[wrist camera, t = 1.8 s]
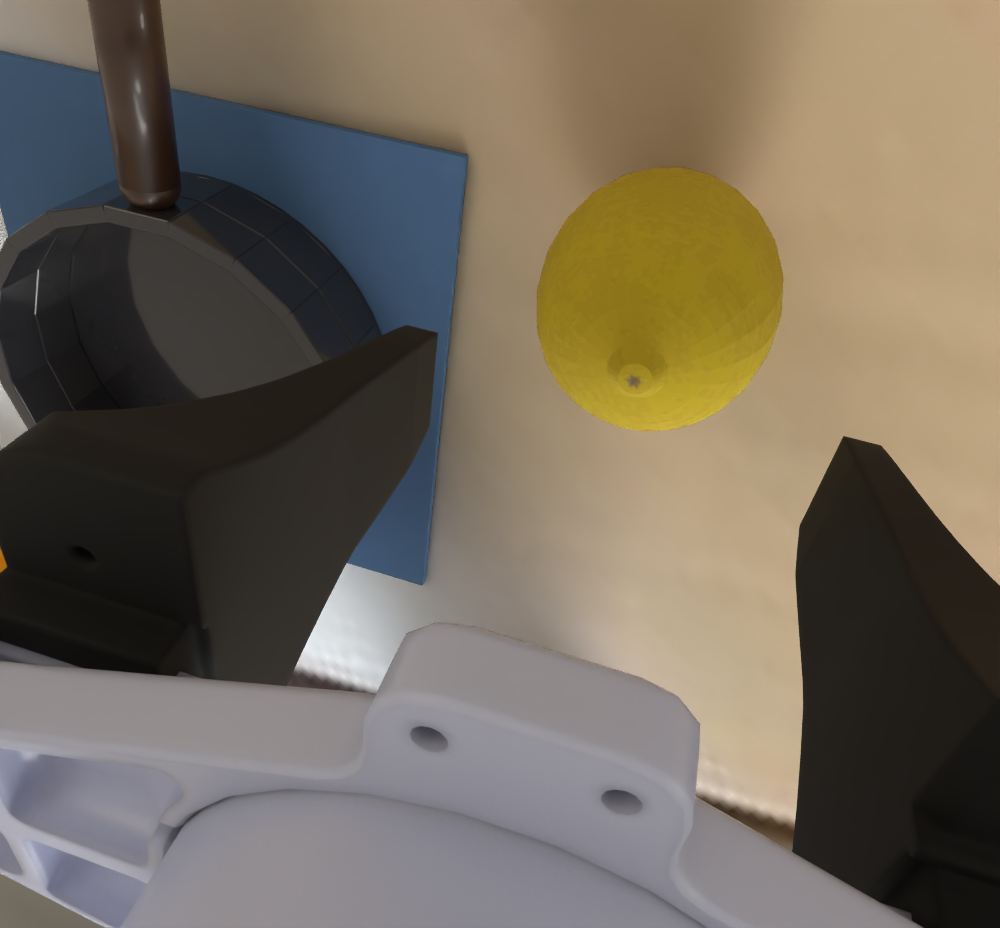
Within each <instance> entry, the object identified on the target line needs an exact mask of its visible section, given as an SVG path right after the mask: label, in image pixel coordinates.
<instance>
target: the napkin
mask: <svg viewBox="0 0 1000 928" xmlns="http://www.w3.org/2000/svg"><path fill="white" fill-rule="evenodd" d="M170 90H171V98H172V107H173V115H174V124H175V132H176V141H177V149H178V158H179V166H180V171H184V172H190V173H196V174H202V175H207V176H211V177H214V178H217V179H221V180H224V181H227V182H230V183H233V184H235V185H238V186H240V187H242V188H244V189H246V190H249V191H251V192H253V193H255V194H257V195H259V196H261V197H262V198H264V199H266V200H268V201H269V202H271V203H273V204H274V205H276V206H278V207H279V208H281V209H282V210H284V211H285V212H286V213H288V214H289V215H290V216H292V217H293V218H294V219H296V220H297V221H298V222H300V223H301V224H302V225H304V226H305V227H306V228H307V229H308V230H309V231H310V232H311V233H312V234H313V235H315V236H316V237H317V238H318V239H319V240H320V241H321V242H322V243H323V244H324V245H325V246H326V247H327V248H328V249H329V250H330V251H331V253H332V254H333V255H334V256H335V257H336V258H337V259H338V261H339V262H340V263H341V264H342V265H343V266H344V268H345V269H346V270H347V272H348V273H349V275H350V276H351V277H352V279H353V280H354V282H355V283H356V284H357V286H358V287H359V289H360V291H361V292H362V294H363V296H364V298H365V299H366V301H367V303H368V305H369V307H370V308H371V310H372V312H373V314H374V317H375V319H376V321H377V324H378V326H379V328H380V331H381V333H382V335H384V334H386V333H388V332H390V331H392V330H395V329H397V328H399V327H402V326H405V325H409V326H413V327H417V328H421V329H425V330H429V331H433V332H437V333H438V340H437V351H436V362H435V373H434V384H433V395H432V406H431V417H430V426H429V428H428V430H427V432H426V435H425V437H424V439H423V441H422V443H421V445H420V448H419V450H418V452H417V454H416V456H415V458H414V460H413V462H412V464H411V466H410V468H409V469H408V471H407V472H406V474H405V475H404V477H403V478H402V480H401V481H400V483H399V485H398V486H397V488H396V489H395V491H394V492H393V494H392V495H391V497H390V498H389V500H388V501H387V502H386V504H385V505H384V507H383V508H382V510H381V511H380V513H379V514H378V516H377V517H376V519H375V520H374V522H373V523H372V525H371V526H370V528H369V529H368V531H367V532H366V534H365V535H364V537H363V538H362V540H361V541H360V542H359V544H358V545H357V547H356V548H355V550H354V552H353V553H352V555H351V557H350V558H349V560H348V562H347V563H349V564H353V565H356V566H359V567H362V568H366V569H369V570H372V571H376V572H379V573H382V574H386V575H389V576H392V577H396V578H399V579H402V580H406V581H409V582H412V583H416V584H419V585H423V584H424V582H425V576H426V566H427V556H428V547H429V537H430V527H431V517H432V507H433V497H434V488H435V478H436V468H437V458H438V448H439V438H440V429H441V419H442V409H443V399H444V389H445V379H446V370H447V360H448V350H449V340H450V330H451V320H452V311H453V301H454V291H455V281H456V271H457V261H458V252H459V242H460V232H461V222H462V212H463V202H464V193H465V183H466V173H467V163H468V155H467V154H463V153H458V152H454V151H449V150H445V149H440V148H436V147H431V146H427V145H422V144H418V143H413V142H409V141H404V140H400V139H395V138H391V137H386V136H382V135H377V134H373V133H368V132H364V131H359V130H355V129H350V128H345V127H341V126H336V125H332V124H327V123H323V122H318V121H314V120H309V119H305V118H300V117H296V116H291V115H287V114H282V113H278V112H273V111H269V110H264V109H260V108H255V107H251V106H246V105H242V104H237V103H233V102H228V101H224V100H219V99H215V98H210V97H206V96H201V95H197V94H192V93H188V92H183V91H179V90H174V89H170ZM116 179H117V176H116V170H115V164H114V158H113V152H112V146H111V139H110V133H109V127H108V121H107V115H106V109H105V103H104V97H103V91H102V85H101V79H100V73H97V72H93V71H88V70H84V69H79V68H75V67H70V66H66V65H61V64H57V63H52V62H48V61H43V60H39V59H34V58H30V57H25V56H21V55H16V54H12V53H7V52H3V51H0V207H1V211H2V214H3V218H4V222H5V226H6V230H7V233H8V237H9V236H10V235H12V234H13V233H15V232H16V231H18V230H19V229H21V228H22V227H23V226H25V225H26V224H28V223H29V222H31V221H32V220H34V219H35V218H37V217H38V216H40V215H41V214H43V213H44V212H46V211H48V210H50V209H52V208H54V207H57V206H59V205H61V204H63V203H65V202H68V201H70V200H72V199H74V198H76V197H79V196H81V195H84V194H85V193H87V192H90V191H92V190H94V189H96V188H98V187H101V186H103V185H105V184H107V183H109V182H112V181H114V180H116Z"/></svg>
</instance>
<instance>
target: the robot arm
mask: <svg viewBox="0 0 1000 928" xmlns="http://www.w3.org/2000/svg"><path fill="white" fill-rule="evenodd" d="M437 340H438V333H437V332H433V331H429V330H425V329H421V328H417V327H413V326H409V325H405V326H402V327H399V328H397V329H395V330H392V331H390V332H388V333H386V334H384V335H381V336H379V337H377V338H375V339H373V340H371V341H369V342H367V343H365V344H362V345H360V346H358V347H356V348H354V349H352V350H349V351H347V352H345V353H343V354H341V355H338V356H336V357H334V358H332V359H329V360H327V361H324V362H322V363H319V364H317V365H314V366H312V367H309V368H307V369H304V370H302V371H299V372H297V373H294V374H292V375H289V376H286V377H283V378H280V379H277V380H274V381H271V382H268V383H265V384H261V385H258V386H254V387H251V388H247V389H244V390H240V391H236V392H232V393H227V394H222V395H217V396H212V397H207V398H202V399H197V400H192V401H187V402H181V403H174V404H166V405H159V406H150V407H140V408H130V409H117V410H91V411H53V412H52V413H50V414H49V415H48V416H46V417H45V418H44V419H42V420H41V421H40V422H38V423H37V424H36V425H34V426H33V427H31V428H30V429H29V430H27V431H26V432H25V433H23V434H22V435H21V436H19V437H18V438H17V439H15V440H14V441H13V442H11V443H10V444H9V445H7V446H6V447H4V448H3V449H2V450H0V548H1V551H2V553H3V556H4V559H5V562H6V565H7V567H6V568H5V569H4V570H3V571H2V572H1V573H0V873H1V874H3V875H5V876H7V877H9V878H10V879H12V880H14V881H16V882H18V883H20V884H22V885H24V886H26V887H28V888H30V889H32V890H34V891H35V892H37V893H39V894H41V895H43V896H45V897H47V898H49V899H51V900H53V901H55V902H57V903H59V904H60V905H63V906H65V907H66V908H68V909H70V910H72V911H74V912H76V913H78V914H80V915H82V916H84V917H86V918H87V919H89V920H91V921H93V922H95V923H97V924H99V925H101V926H103V927H105V928H1000V586H999V585H998V584H997V583H996V582H995V581H994V580H993V579H992V578H991V577H990V576H989V575H988V574H987V573H986V572H985V571H984V570H983V569H982V568H981V567H980V565H979V564H978V563H977V562H976V561H975V560H974V559H973V558H972V557H971V556H970V554H969V553H968V552H967V551H966V550H965V549H964V548H963V547H962V546H961V545H960V543H959V542H958V541H957V540H956V539H955V538H954V537H953V535H952V534H951V533H950V532H949V531H948V529H947V528H946V527H945V526H944V525H943V523H942V522H941V521H940V520H939V519H938V517H937V516H936V515H935V514H934V512H933V511H932V510H931V509H930V507H929V506H928V505H927V504H926V502H925V501H924V500H923V498H922V497H921V496H920V495H919V493H918V492H917V491H916V489H915V488H914V487H913V485H912V484H911V483H910V481H909V480H908V479H907V477H906V476H905V475H904V474H903V472H902V471H901V470H900V468H899V467H898V466H897V464H896V463H895V462H894V461H893V459H892V458H891V457H890V456H889V454H888V453H887V452H886V451H885V450H884V449H883V447H882V446H880V445H876V444H873V443H869V442H865V441H861V440H857V439H853V438H849V437H845V436H843V438H842V440H841V442H840V445H839V447H838V449H837V451H836V453H835V455H834V457H833V459H832V461H831V463H830V465H829V467H828V469H827V471H826V473H825V475H824V477H823V479H822V481H821V483H820V485H819V487H818V489H817V492H816V494H815V496H814V498H813V500H812V502H811V504H810V506H809V508H808V510H807V512H806V514H805V516H804V518H803V520H802V522H801V524H800V528H799V538H798V548H797V561H796V592H797V608H798V622H799V636H800V649H801V663H802V677H803V721H802V740H801V758H800V771H799V785H798V798H797V810H796V820H795V830H794V840H793V850H792V852H791V851H789V850H788V849H786V848H784V847H782V846H781V845H779V844H777V843H775V842H774V841H772V840H770V839H769V838H767V837H765V836H763V835H762V834H760V833H758V832H756V831H755V830H753V829H751V828H749V827H748V826H746V825H744V824H742V823H741V822H739V821H737V820H736V819H734V818H732V817H730V816H729V815H727V814H725V813H723V812H722V811H720V810H718V809H716V808H715V807H713V806H711V805H709V804H708V803H706V802H704V801H702V800H701V799H699V798H697V797H696V796H695V794H696V782H697V771H698V759H699V742H700V723H699V722H698V721H697V719H696V718H695V717H694V716H693V714H692V713H691V712H690V711H689V709H688V708H687V707H686V706H685V704H684V703H683V702H682V701H681V699H680V698H679V697H678V696H676V695H675V694H673V693H671V692H669V691H667V690H665V689H663V688H661V687H659V686H657V685H655V684H653V683H651V682H649V681H647V680H645V679H643V678H641V677H638V676H635V675H632V674H628V673H625V672H622V671H618V670H615V669H612V668H609V667H605V666H602V665H599V664H596V663H592V662H589V661H586V660H582V659H579V658H576V657H573V656H569V655H566V654H563V653H559V652H556V651H553V650H550V649H546V648H543V647H540V646H537V645H533V644H530V643H527V642H523V641H520V640H517V639H514V638H510V637H507V636H504V635H501V634H497V633H494V632H491V631H487V630H484V629H481V628H478V627H474V626H465V625H457V624H448V623H433V624H430V625H428V626H425V627H422V628H419V629H416V630H414V631H411V632H408V633H407V634H406V636H405V638H404V639H403V641H402V643H401V645H400V647H399V649H398V651H397V652H396V654H395V656H394V658H393V660H392V662H391V665H390V667H389V669H388V671H387V673H386V675H385V677H384V679H383V681H382V683H381V685H380V687H379V689H378V691H377V693H376V694H373V693H361V692H350V691H338V690H327V689H315V688H304V687H292V686H287V684H288V682H289V679H290V677H291V675H292V673H293V671H294V668H295V666H296V664H297V662H298V660H299V657H300V655H301V653H302V651H303V649H304V647H305V645H306V643H307V640H308V638H309V636H310V634H311V632H312V630H313V628H314V626H315V624H316V622H317V620H318V618H319V616H320V614H321V612H322V610H323V608H324V606H325V604H326V602H327V600H328V598H329V596H330V594H331V592H332V590H333V588H334V586H335V584H336V582H337V580H338V578H339V576H340V574H341V572H342V570H343V569H344V567H345V565H346V563H347V562H348V560H349V558H350V557H351V555H352V553H353V552H354V550H355V548H356V547H357V545H358V544H359V542H360V541H361V540H362V538H363V537H364V535H365V534H366V532H367V531H368V529H369V528H370V526H371V525H372V523H373V522H374V520H375V519H376V517H377V516H378V514H379V513H380V511H381V510H382V508H383V507H384V505H385V504H386V502H387V501H388V500H389V498H390V497H391V495H392V494H393V492H394V491H395V489H396V488H397V486H398V485H399V483H400V481H401V480H402V478H403V477H404V475H405V474H406V472H407V471H408V469H409V468H410V466H411V464H412V462H413V460H414V458H415V456H416V454H417V452H418V450H419V448H420V445H421V443H422V441H423V439H424V437H425V435H426V432H427V430H428V428H429V426H430V417H431V406H432V395H433V384H434V373H435V362H436V351H437Z"/></svg>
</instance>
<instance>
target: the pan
mask: <svg viewBox="0 0 1000 928" xmlns="http://www.w3.org/2000/svg"><path fill="white" fill-rule="evenodd" d="M180 175H181V192H180V196H179V198H178V200H177V201H176V203H175V204H174V205H173V206H172V207H170V208H168V209H165V210H159V211H147V210H141V209H138V208H136V207H134V206H132V205H131V204H130V203H129V202H128V201H127V200H126V199H125V197H124V196H123V195H122V193H121V191H120V189H119V185H118V182H117V179H116V180H114V181H112V182H109V183H107V184H105V185H103V186H101V187H98V188H96V189H94V190H92V191H90V192H87V193H85V194H84V195H81V196H79V197H76V198H74V199H72V200H70V201H68V202H65V203H63V204H61V205H59V206H57V207H54V208H52V209H50V210H48V211H46V212H44V213H43V214H41V215H40V216H38V217H37V218H35V219H34V220H32V221H31V222H29V223H28V224H26V225H25V226H23V227H22V228H21V229H19V230H18V231H16V232H15V233H13V234H12V235H10V236H9V237H8V238H7V239H6V240H5V242H4V244H3V246H2V249H1V251H0V382H1V383H2V386H3V387H4V389H5V391H6V393H7V394H8V396H9V398H10V399H11V401H12V403H13V405H14V406H15V408H16V410H17V411H18V413H19V415H20V417H21V418H22V420H23V422H24V423H25V425H26V427H27V429H28V430H29V429H30V428H31V427H33V426H34V425H36V424H37V423H38V422H40V421H41V420H42V419H44V418H45V417H46V416H48V415H49V414H50V413H52V412H53V411H91V410H117V409H130V408H140V407H150V406H159V405H166V404H174V403H181V402H187V401H192V400H197V399H202V398H207V397H212V396H217V395H222V394H227V393H232V392H236V391H240V390H244V389H247V388H251V387H254V386H258V385H261V384H265V383H268V382H271V381H274V380H277V379H280V378H283V377H286V376H289V375H292V374H294V373H297V372H299V371H302V370H304V369H307V368H309V367H312V366H314V365H317V364H319V363H322V362H324V361H327V360H329V359H332V358H334V357H336V356H338V355H341V354H343V353H345V352H347V351H349V350H352V349H354V348H356V347H358V346H360V345H362V344H365V343H367V342H369V341H371V340H373V339H375V338H377V337H379V336H381V335H382V333H381V331H380V328H379V326H378V324H377V321H376V319H375V317H374V314H373V312H372V310H371V308H370V307H369V305H368V303H367V301H366V299H365V298H364V296H363V294H362V292H361V291H360V289H359V287H358V286H357V284H356V283H355V282H354V280H353V279H352V277H351V276H350V275H349V273H348V272H347V270H346V269H345V268H344V266H343V265H342V264H341V263H340V262H339V261H338V259H337V258H336V257H335V256H334V255H333V254H332V253H331V251H330V250H329V249H328V248H327V247H326V246H325V245H324V244H323V243H322V242H321V241H320V240H319V239H318V238H317V237H316V236H315V235H313V234H312V233H311V232H310V231H309V230H308V229H307V228H306V227H305V226H304V225H302V224H301V223H300V222H298V221H297V220H296V219H294V218H293V217H292V216H290V215H289V214H288V213H286V212H285V211H284V210H282V209H281V208H279V207H278V206H276V205H274V204H273V203H271V202H269V201H268V200H266V199H264V198H262V197H261V196H259V195H257V194H255V193H253V192H251V191H249V190H246V189H244V188H242V187H240V186H238V185H235V184H233V183H230V182H227V181H224V180H221V179H217V178H214V177H211V176H207V175H202V174H196V173H190V172H184V171H180Z"/></svg>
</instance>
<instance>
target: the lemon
mask: <svg viewBox="0 0 1000 928" xmlns="http://www.w3.org/2000/svg"><path fill="white" fill-rule="evenodd" d="M782 293H783V273H782V268H781V264H780V259H779V255H778V251H777V246H776V243H775V240H774V238H773V236H772V234H771V232H770V231H769V229H768V227H767V225H766V223H765V222H764V220H763V218H762V216H761V215H760V213H759V211H758V210H757V209H756V208H755V207H754V206H753V205H752V204H751V203H750V202H749V201H748V200H747V199H746V198H745V197H744V196H743V195H742V194H741V193H740V192H739V191H738V190H737V189H735V188H733V187H731V186H730V185H728V184H726V183H724V182H723V181H721V180H719V179H717V178H715V177H714V176H712V175H710V174H706V173H702V172H698V171H694V170H690V169H686V168H650V169H646V170H642V171H639V172H635V173H631V174H627V175H624V176H622V177H620V178H618V179H616V180H614V181H613V182H611V183H609V184H607V185H606V186H604V187H602V188H600V189H599V190H597V191H595V192H593V193H592V194H591V195H590V196H589V197H588V198H587V199H586V200H585V201H584V202H583V203H582V204H581V205H580V206H579V207H578V208H577V209H576V210H575V211H574V212H573V213H572V214H571V215H570V216H569V217H568V218H567V220H566V221H565V223H564V224H563V226H562V228H561V229H560V231H559V233H558V234H557V236H556V238H555V239H554V241H553V243H552V244H551V246H550V248H549V250H548V252H547V256H546V259H545V263H544V266H543V270H542V273H541V277H540V281H539V284H538V290H537V329H538V335H539V338H540V342H541V346H542V350H543V354H544V358H545V360H546V362H547V364H548V366H549V368H550V370H551V372H552V374H553V375H554V377H555V379H556V381H557V383H558V384H559V386H560V387H561V388H562V389H563V390H564V391H565V392H566V393H567V394H568V395H569V396H570V397H571V399H572V400H573V401H574V402H575V403H576V404H578V405H579V406H580V407H582V408H583V409H585V410H586V411H588V412H589V413H591V414H592V415H594V416H595V417H596V418H598V419H601V420H603V421H606V422H608V423H610V424H613V425H615V426H618V427H622V428H628V429H633V430H639V431H663V430H671V429H675V428H679V427H683V426H687V425H691V424H695V423H697V422H699V421H701V420H702V419H704V418H706V417H708V416H710V415H712V414H714V413H716V412H718V411H719V410H721V409H722V408H723V407H724V406H725V405H727V404H728V403H729V402H730V401H731V400H732V399H734V398H735V397H736V396H737V395H738V394H739V393H741V392H742V391H743V389H744V388H745V387H746V386H747V385H748V383H749V382H750V380H751V379H752V377H753V376H754V375H755V373H756V372H757V370H758V369H759V367H760V366H761V365H762V363H763V361H764V360H765V358H766V357H767V354H768V352H769V350H770V347H771V344H772V341H773V338H774V335H775V333H776V330H777V327H778V324H779V321H780V317H781V310H782Z"/></svg>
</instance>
